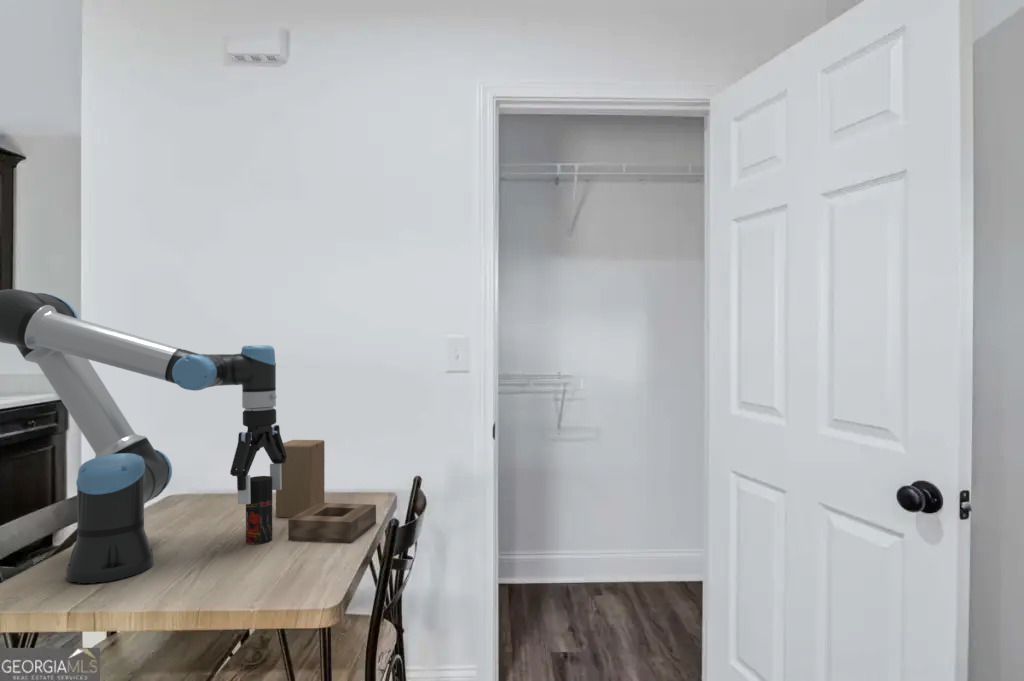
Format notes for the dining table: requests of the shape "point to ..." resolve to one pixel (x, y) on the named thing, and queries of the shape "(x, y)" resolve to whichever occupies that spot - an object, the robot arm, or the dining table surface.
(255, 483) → the deodorant
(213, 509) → the dining table surface
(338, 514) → the socket block
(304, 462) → the wooden block
